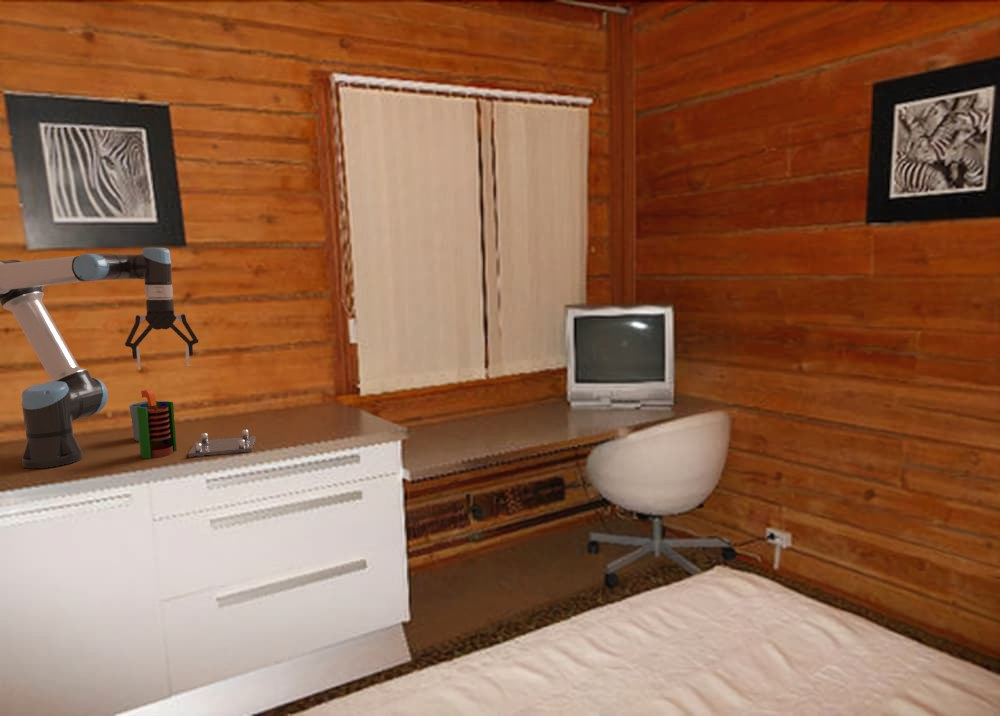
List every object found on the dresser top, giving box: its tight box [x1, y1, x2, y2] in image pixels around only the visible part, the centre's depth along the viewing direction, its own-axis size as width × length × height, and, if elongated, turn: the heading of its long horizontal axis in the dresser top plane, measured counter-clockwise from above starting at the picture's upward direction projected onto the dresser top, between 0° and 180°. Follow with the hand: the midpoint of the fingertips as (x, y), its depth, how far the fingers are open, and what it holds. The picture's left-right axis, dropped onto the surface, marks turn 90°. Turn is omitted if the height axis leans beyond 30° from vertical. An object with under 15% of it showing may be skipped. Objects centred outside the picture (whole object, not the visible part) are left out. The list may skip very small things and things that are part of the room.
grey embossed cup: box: [128, 400, 148, 442], centre depth 232 cm, size 10×10×12 cm
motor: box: [137, 389, 178, 460], centre depth 210 cm, size 10×9×20 cm
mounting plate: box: [187, 429, 256, 458], centre depth 216 cm, size 18×16×4 cm
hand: (164, 367), depth 212 cm, fingers open, 13 cm apart
